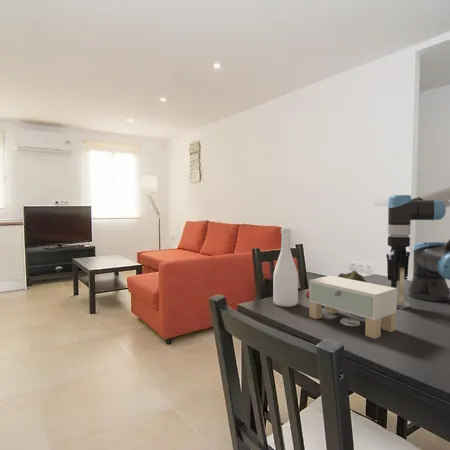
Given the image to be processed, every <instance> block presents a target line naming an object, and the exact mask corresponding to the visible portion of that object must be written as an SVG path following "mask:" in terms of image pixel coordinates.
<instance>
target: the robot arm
mask: <svg viewBox="0 0 450 450" xmlns="http://www.w3.org/2000/svg"><path fill="white" fill-rule="evenodd" d="M448 207H450V186H449V187H445V188H443V189H440V190H437V191H433V192H430V193H427V194H424V195H421V196H418V197H413V198H412V195H410V194H393V195H390V196H389V197H388V206H387V208H388V209H387V210H388V211H387V217H388V218H387V219H388V220H387V222H388V223H387V235H388V236H387V245H388V246H389V247H391V249H390V250H389V251H390V253H387V254H386V261H387V263H386V265H387V267H386V269H387V281H390V287H393V288H397V299H399V281H398V275H399V267H404V281H405V280H406V281H407V280H408V277H409V264H410V263H409V262H410V254H411V252H410V251H407V248H408V247H409V248H410V246H411V237H410V236H411V221H440V220H442V219H444V217H445V215H446V212H447V211H446V210H447V209H446V208H448ZM412 253H413V264H412V265H413V266H412V267H413V268H412V269H413V270H412V272H413V274H412V279H411V281H410V284H409V287H408V289H407V295H408V296H410V297H412V298H414V299H418V300H422V301H429V302H446V301H447V302H448V301H450V290H449V287H448V283H447V280H448V281H450V239H448V241H447V242H440V241H438V242H437V241H435V242H431V241H429V242H428V241H427V242H416V243H414V246H413V251H412Z"/></svg>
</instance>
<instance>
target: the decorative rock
mask: <svg viewBox="0 0 450 450" xmlns="http://www.w3.org/2000/svg"><path fill="white" fill-rule="evenodd" d="M337 277H341V278H347V279H352V280H357V281H362V282H367V281H366V280H365V277H364V276H363V275H362V274H359V273H358V271H356V270H353V271H351V272H347V273H340V274H339V275H337Z"/></svg>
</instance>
